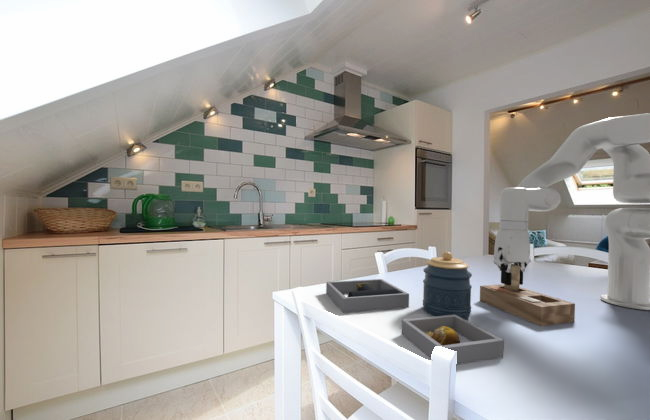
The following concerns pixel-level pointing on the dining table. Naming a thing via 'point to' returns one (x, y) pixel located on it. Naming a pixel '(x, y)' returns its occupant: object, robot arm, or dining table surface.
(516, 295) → the socket block
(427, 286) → the canister
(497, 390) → the dining table surface
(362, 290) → the pipe connector
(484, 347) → the fruit corral
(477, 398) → the dining table surface
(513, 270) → the peg
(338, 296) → the tray
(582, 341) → the dining table surface
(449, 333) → the fruit
